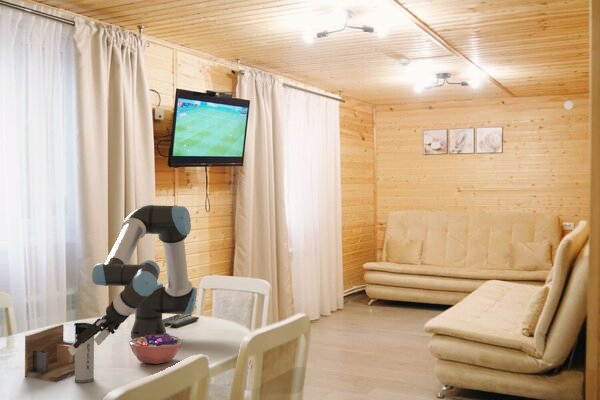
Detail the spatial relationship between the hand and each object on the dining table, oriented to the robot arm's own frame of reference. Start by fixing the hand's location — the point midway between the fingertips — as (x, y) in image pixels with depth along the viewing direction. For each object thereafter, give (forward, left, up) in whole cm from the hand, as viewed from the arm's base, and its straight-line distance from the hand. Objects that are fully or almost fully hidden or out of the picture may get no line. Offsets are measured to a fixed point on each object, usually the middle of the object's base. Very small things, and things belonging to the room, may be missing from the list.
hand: (84, 347), depth 213 cm
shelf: (+10, -11, -12) cm, 19 cm away
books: (+10, -19, -10) cm, 24 cm away
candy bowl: (-23, -20, -12) cm, 33 cm away
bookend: (+17, -6, -10) cm, 21 cm away
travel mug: (0, -1, -12) cm, 12 cm away
